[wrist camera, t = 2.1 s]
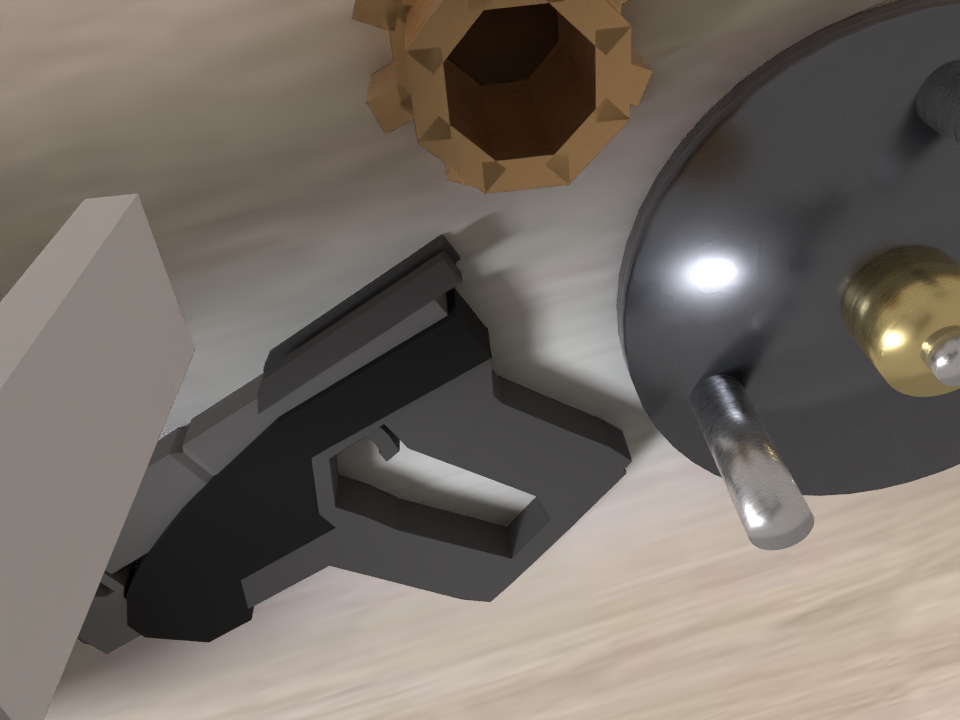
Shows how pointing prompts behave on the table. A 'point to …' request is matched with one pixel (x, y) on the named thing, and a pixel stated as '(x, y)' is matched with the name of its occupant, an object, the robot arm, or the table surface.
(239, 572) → the pistol
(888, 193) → the carrier
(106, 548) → the robot arm
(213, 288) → the table surface
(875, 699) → the table surface
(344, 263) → the table surface
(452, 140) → the planet gear
